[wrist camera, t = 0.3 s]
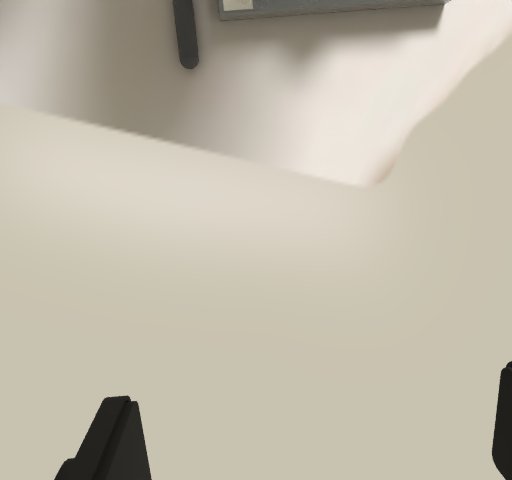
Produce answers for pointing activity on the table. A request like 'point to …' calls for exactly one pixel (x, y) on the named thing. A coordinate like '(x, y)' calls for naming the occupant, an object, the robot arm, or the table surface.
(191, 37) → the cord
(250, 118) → the table surface
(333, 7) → the panel
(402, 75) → the table surface
